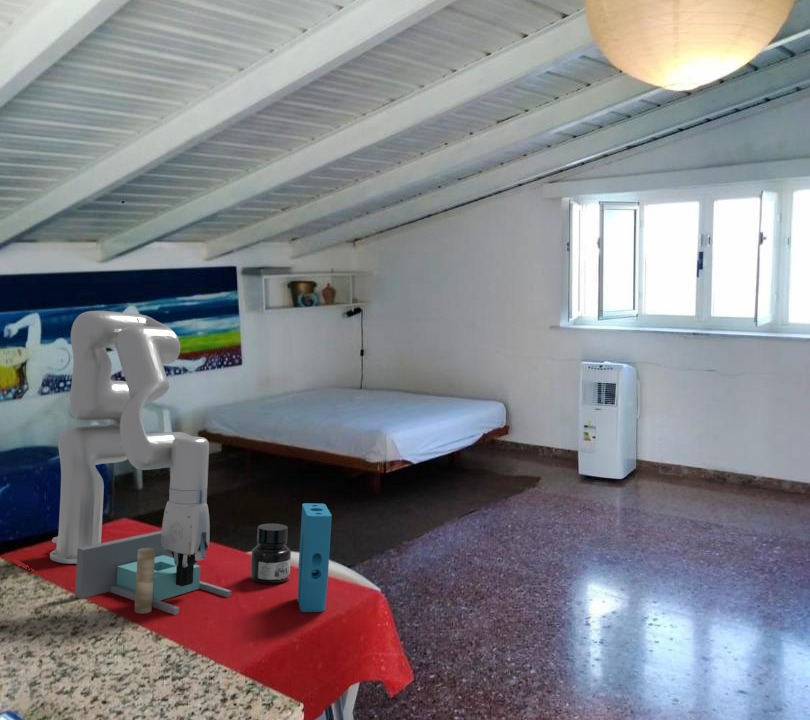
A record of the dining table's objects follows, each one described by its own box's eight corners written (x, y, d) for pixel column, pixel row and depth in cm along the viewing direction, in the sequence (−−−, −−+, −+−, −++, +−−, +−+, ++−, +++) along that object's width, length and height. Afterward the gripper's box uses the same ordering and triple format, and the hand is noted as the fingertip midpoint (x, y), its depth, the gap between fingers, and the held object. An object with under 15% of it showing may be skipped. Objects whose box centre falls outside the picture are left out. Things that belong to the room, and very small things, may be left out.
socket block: (116, 589, 161) (117, 566, 160) (162, 576, 171) (163, 555, 171) (153, 602, 154) (155, 578, 154) (199, 588, 164) (200, 566, 164)
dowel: (131, 610, 149) (134, 550, 149) (144, 606, 152) (147, 547, 152) (141, 614, 148) (145, 553, 147) (155, 610, 150) (158, 550, 150)
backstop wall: (74, 596, 155) (77, 548, 155) (182, 567, 179) (184, 525, 179) (147, 623, 143) (150, 571, 143) (252, 589, 167) (255, 543, 166)
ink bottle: (261, 587, 168) (264, 533, 168) (241, 577, 175) (244, 525, 174) (298, 580, 174) (301, 528, 174) (277, 570, 181) (280, 520, 181)
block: (326, 614, 154) (332, 516, 153) (301, 615, 153) (307, 516, 152) (319, 595, 165) (324, 503, 165) (296, 595, 164) (301, 503, 164)
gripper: (149, 493, 159) (145, 581, 159) (199, 504, 151) (195, 596, 151) (178, 489, 165) (174, 573, 165) (227, 498, 157) (223, 587, 157)
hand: (184, 584), depth 158 cm, fingers closed
